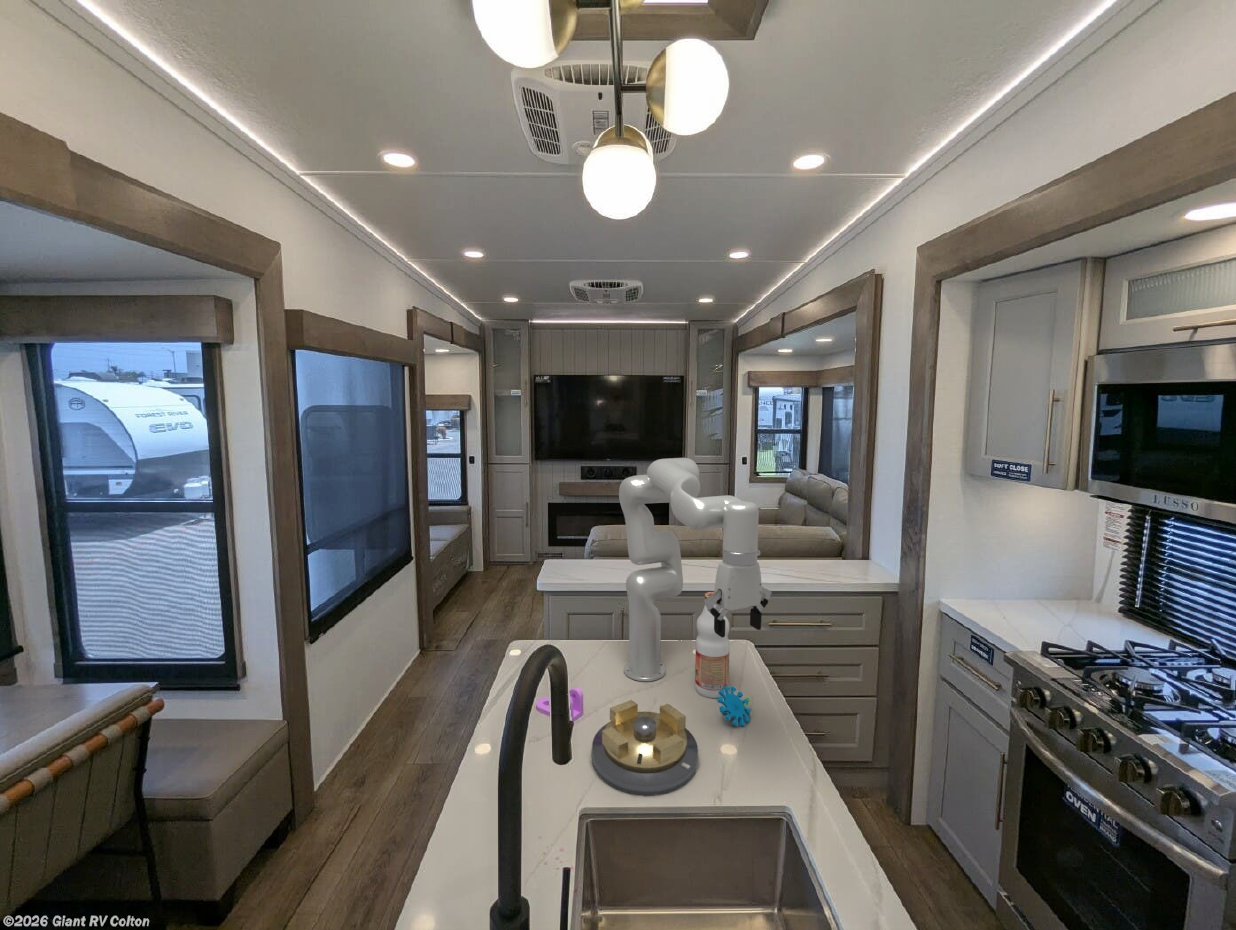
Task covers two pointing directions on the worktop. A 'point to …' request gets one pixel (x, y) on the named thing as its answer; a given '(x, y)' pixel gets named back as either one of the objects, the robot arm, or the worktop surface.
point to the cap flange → (639, 780)
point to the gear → (734, 706)
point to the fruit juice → (711, 655)
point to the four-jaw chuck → (645, 737)
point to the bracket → (575, 704)
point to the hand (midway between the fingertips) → (737, 631)
